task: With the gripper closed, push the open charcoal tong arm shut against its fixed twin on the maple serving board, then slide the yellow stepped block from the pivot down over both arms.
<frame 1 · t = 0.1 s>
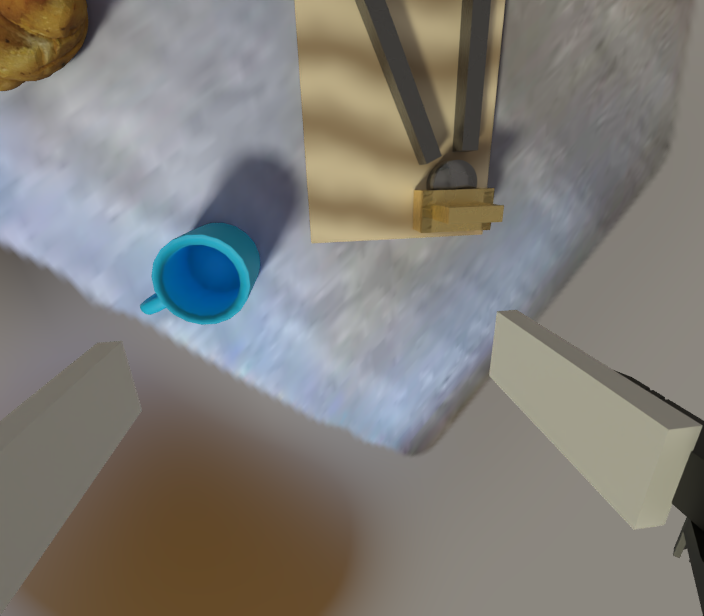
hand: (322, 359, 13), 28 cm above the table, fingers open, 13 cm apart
tong fixed: (446, 183, 37), resting on board
board: (398, 64, 34), on the table
bread roll: (26, 23, 30), on the table
mug: (207, 268, 39), on the table
yellow stepped block: (459, 211, 35), point 5 cm above the table, slide at 0.0 cm
tong arm: (381, 31, 31), point 3 cm above the table, hinge at 25.0°
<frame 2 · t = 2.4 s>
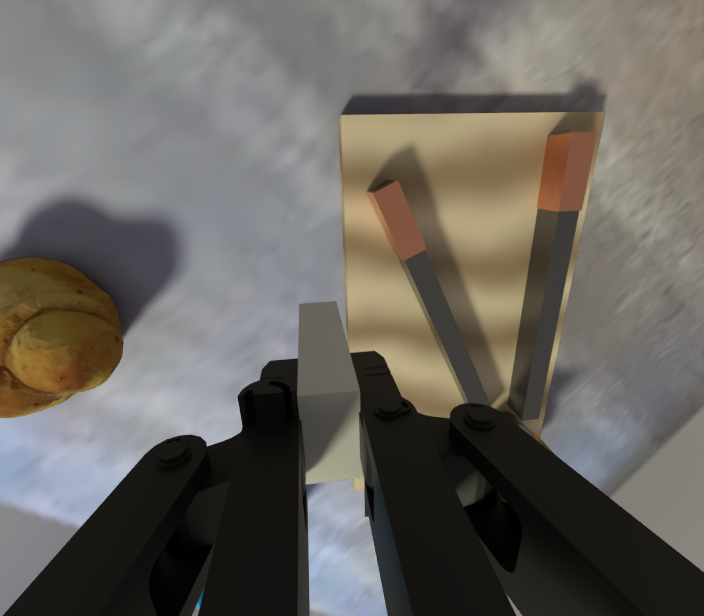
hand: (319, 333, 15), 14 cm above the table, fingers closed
tong fixed: (499, 430, 35), resting on board
board: (452, 325, 31), on the table
bread roll: (53, 325, 27), on the table
yellow stepped block: (517, 480, 32), point 5 cm above the table, slide at 0.0 cm
tong arm: (441, 323, 28), point 3 cm above the table, hinge at 25.0°
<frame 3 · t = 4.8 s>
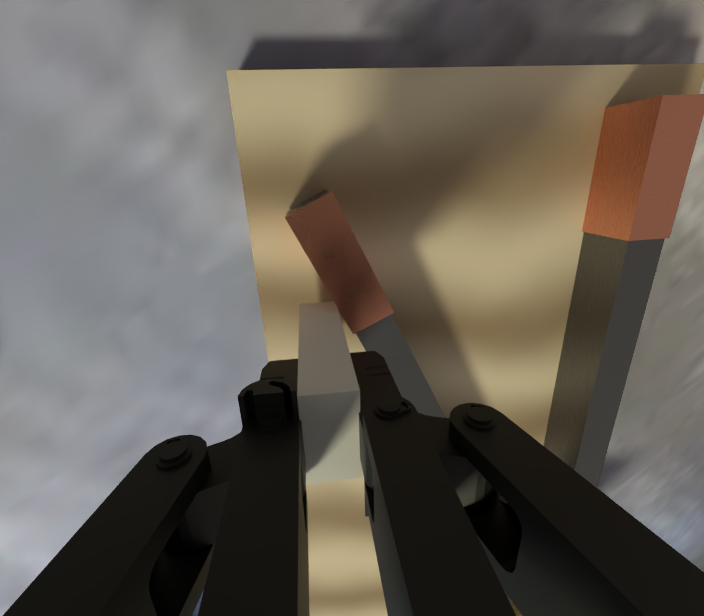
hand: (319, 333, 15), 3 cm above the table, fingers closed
tong fixed: (518, 548, 24), resting on board
board: (446, 406, 21), on the table
tong arm: (427, 419, 17), point 3 cm above the table, hinge at 25.0°, touching gripper
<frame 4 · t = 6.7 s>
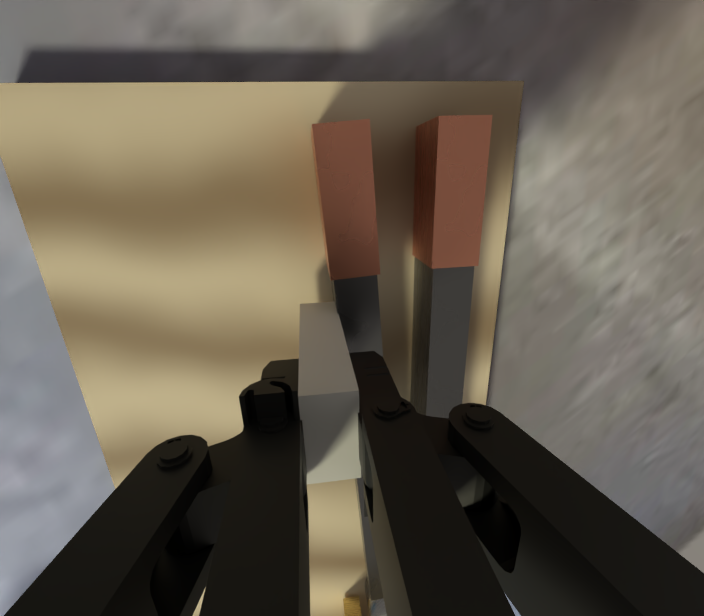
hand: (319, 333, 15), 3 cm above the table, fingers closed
tong fixed: (398, 581, 23), resting on board
board: (306, 433, 20), on the table
tong arm: (364, 407, 16), point 3 cm above the table, hinge at 3.7°, touching gripper
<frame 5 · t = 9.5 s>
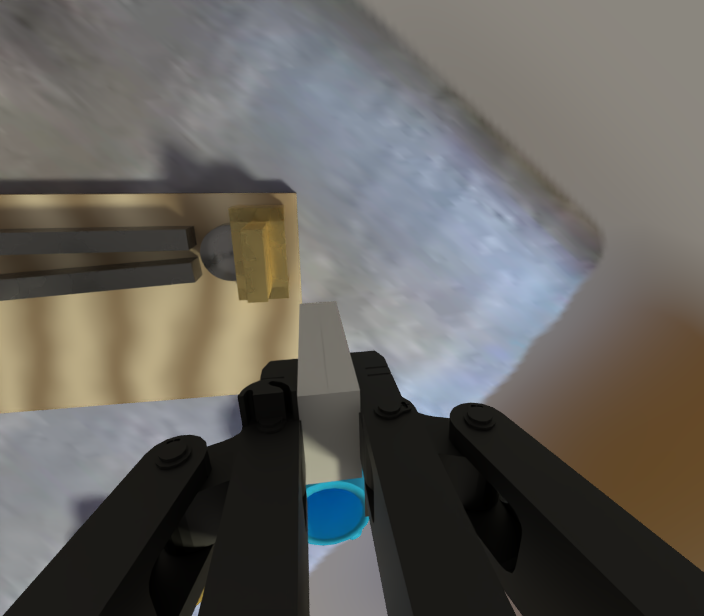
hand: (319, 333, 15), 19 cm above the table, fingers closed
tong fixed: (234, 248, 30), resting on board
board: (117, 304, 32), on the table
mug: (331, 462, 42), on the table
yellow stepped block: (259, 256, 27), point 5 cm above the table, slide at 0.0 cm
tong arm: (45, 283, 28), point 3 cm above the table, hinge at 3.5°
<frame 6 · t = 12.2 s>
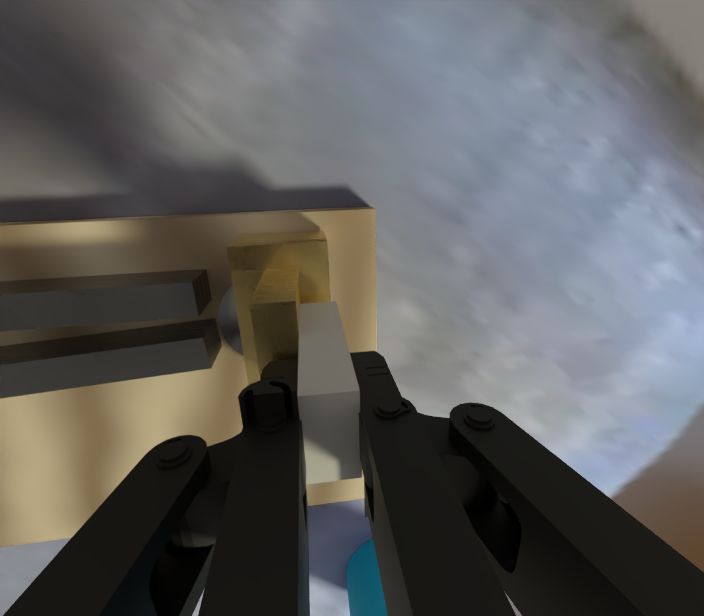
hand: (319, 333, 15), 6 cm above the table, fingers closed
tong fixed: (272, 302, 18), resting on board
board: (90, 389, 20), on the table
mug: (403, 576, 30), on the table
yellow stepped block: (285, 330, 15), point 5 cm above the table, slide at 1.7 cm, touching gripper
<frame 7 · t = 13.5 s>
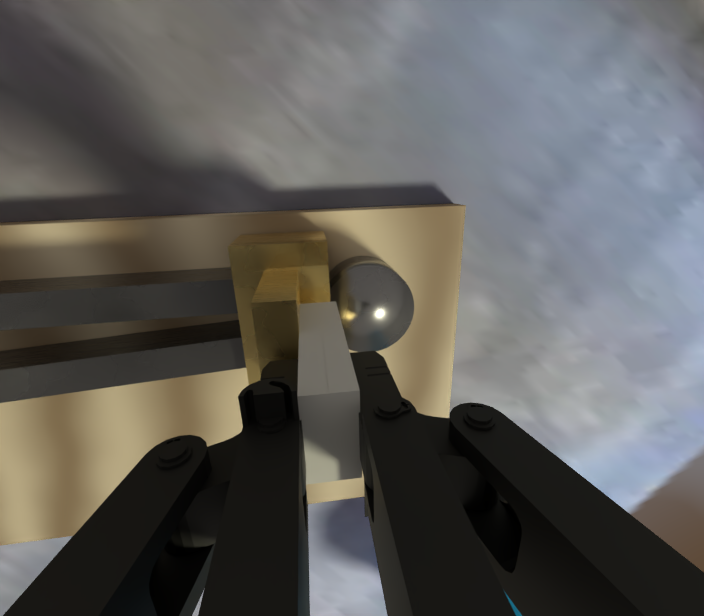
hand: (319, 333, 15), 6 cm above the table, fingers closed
tong fixed: (361, 295, 19), resting on board
board: (177, 380, 21), on the table
yellow stepped block: (286, 329, 15), point 5 cm above the table, slide at 6.4 cm, touching gripper
tong arm: (72, 366, 17), point 3 cm above the table, hinge at 3.5°
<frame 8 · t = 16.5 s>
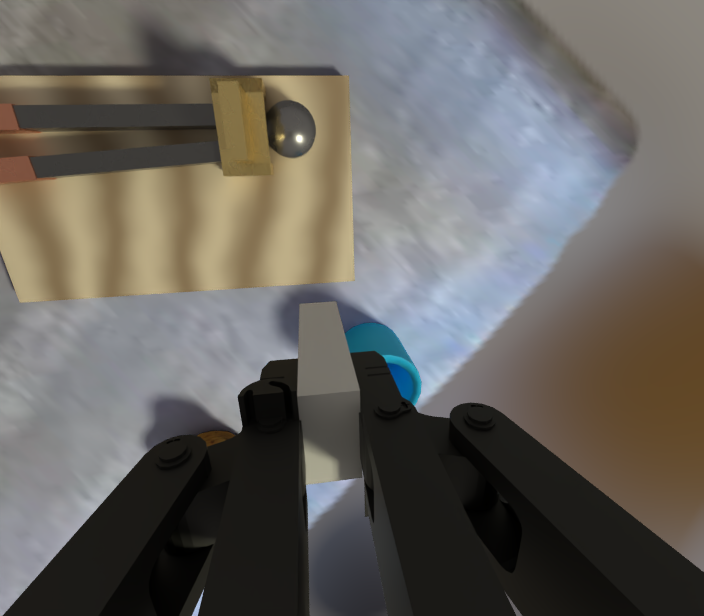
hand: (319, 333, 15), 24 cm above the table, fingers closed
tong fixed: (291, 132, 33), resting on board
board: (181, 193, 34), on the table
bread roll: (226, 459, 46), on the table
mug: (374, 364, 44), on the table
yellow stepped block: (240, 128, 29), point 5 cm above the table, slide at 6.4 cm
tong arm: (123, 160, 30), point 3 cm above the table, hinge at 3.5°
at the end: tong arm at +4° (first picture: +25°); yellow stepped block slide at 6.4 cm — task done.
